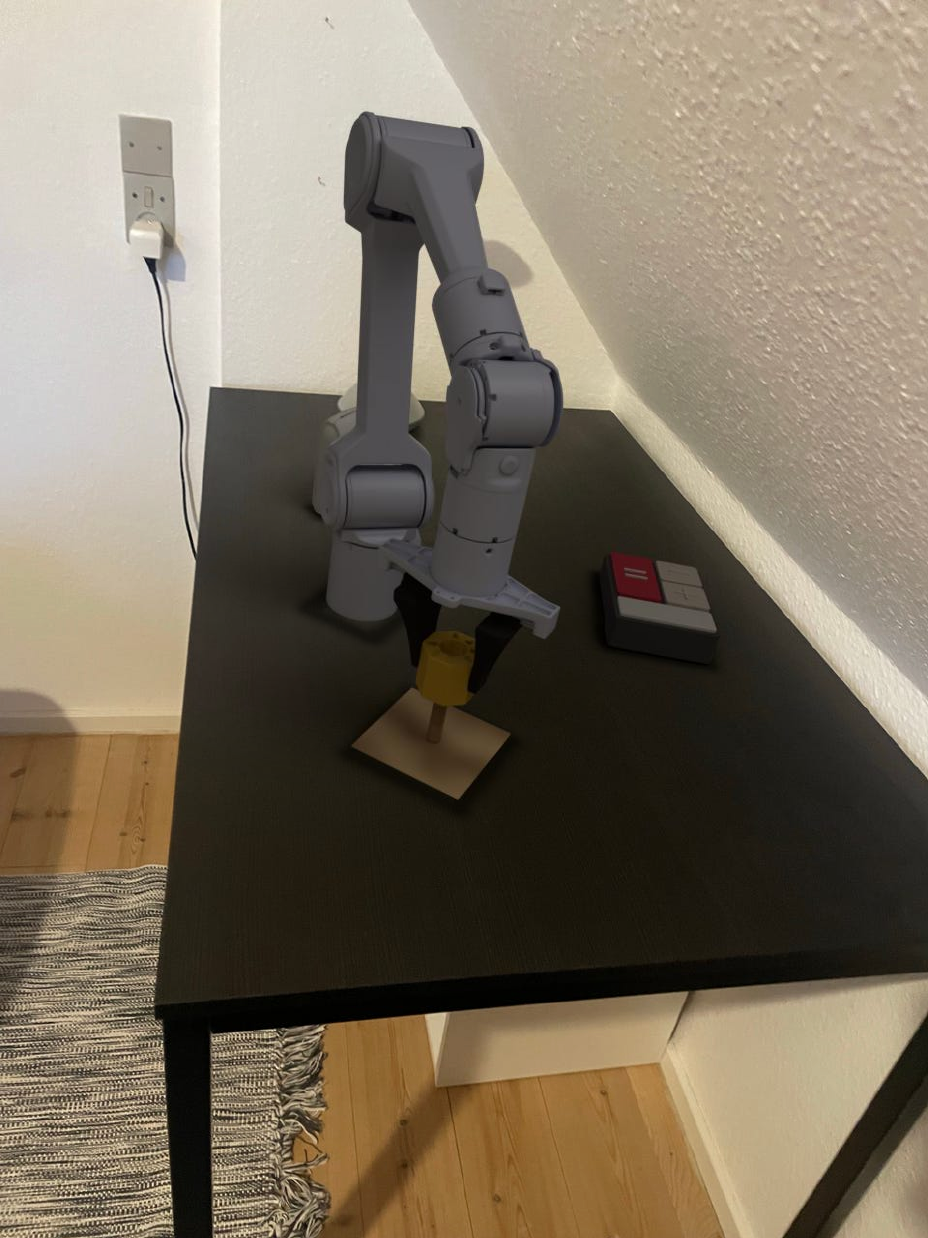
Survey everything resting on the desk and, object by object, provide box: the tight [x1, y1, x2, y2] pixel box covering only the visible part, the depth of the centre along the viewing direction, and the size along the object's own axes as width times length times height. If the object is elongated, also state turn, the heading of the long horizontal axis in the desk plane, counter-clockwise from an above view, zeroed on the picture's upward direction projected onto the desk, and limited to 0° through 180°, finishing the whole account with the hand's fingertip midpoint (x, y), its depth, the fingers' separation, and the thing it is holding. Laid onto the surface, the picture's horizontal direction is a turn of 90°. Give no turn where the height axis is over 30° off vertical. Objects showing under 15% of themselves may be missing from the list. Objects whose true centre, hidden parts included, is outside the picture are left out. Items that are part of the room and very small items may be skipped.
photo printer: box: [311, 406, 356, 516], centre depth 110 cm, size 10×4×12 cm, turn 137°
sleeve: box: [414, 630, 475, 707], centre depth 75 cm, size 5×5×4 cm
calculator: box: [598, 551, 721, 665], centre depth 103 cm, size 11×4×15 cm
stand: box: [350, 687, 511, 800], centre depth 78 cm, size 10×10×5 cm
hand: (447, 673), depth 75 cm, fingers closed on sleeve, 4 cm apart
